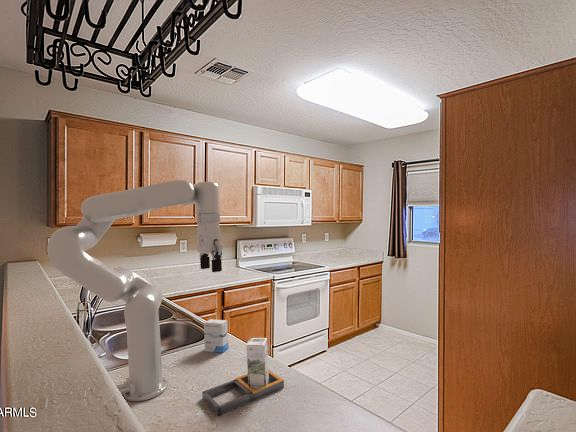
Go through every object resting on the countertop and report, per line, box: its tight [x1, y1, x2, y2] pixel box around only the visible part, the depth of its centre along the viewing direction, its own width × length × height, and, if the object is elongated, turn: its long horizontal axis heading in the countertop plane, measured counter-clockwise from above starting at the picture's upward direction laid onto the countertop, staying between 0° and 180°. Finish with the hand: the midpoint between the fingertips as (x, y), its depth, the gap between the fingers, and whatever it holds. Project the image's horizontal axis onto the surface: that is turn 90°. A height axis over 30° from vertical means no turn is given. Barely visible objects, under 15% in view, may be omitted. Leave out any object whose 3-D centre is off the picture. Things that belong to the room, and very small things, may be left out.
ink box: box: [203, 318, 230, 354], centre depth 129 cm, size 8×5×12 cm, turn 71°
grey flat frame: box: [201, 369, 285, 417], centre depth 96 cm, size 22×11×2 cm, turn 126°
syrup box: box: [246, 337, 270, 390], centre depth 99 cm, size 6×6×14 cm
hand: (210, 270), depth 106 cm, fingers open, 9 cm apart
